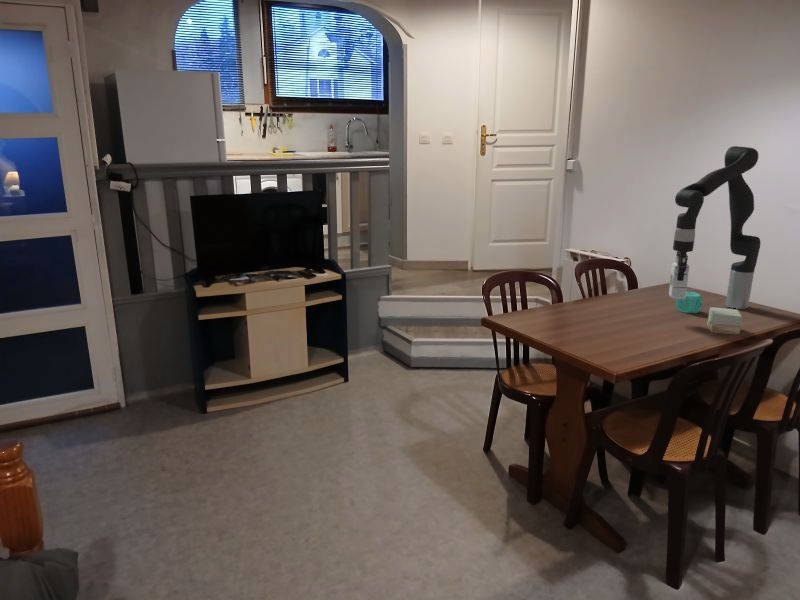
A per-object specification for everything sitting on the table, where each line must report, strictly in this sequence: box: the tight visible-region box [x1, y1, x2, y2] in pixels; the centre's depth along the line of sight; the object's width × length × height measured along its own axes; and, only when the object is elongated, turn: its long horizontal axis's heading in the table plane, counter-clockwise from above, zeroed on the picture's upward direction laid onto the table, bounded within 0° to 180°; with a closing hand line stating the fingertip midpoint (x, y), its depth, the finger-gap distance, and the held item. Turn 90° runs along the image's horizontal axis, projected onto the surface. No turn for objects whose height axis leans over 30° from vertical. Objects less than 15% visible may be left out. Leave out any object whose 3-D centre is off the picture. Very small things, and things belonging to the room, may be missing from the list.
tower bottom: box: [706, 317, 742, 336], centre depth 238 cm, size 10×10×4 cm
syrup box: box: [668, 262, 690, 300], centre depth 244 cm, size 6×6×14 cm
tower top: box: [708, 306, 743, 326], centre depth 237 cm, size 10×10×4 cm
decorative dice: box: [675, 291, 704, 314], centre depth 262 cm, size 8×8×8 cm
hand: (679, 278), depth 244 cm, fingers closed on syrup box, 6 cm apart
